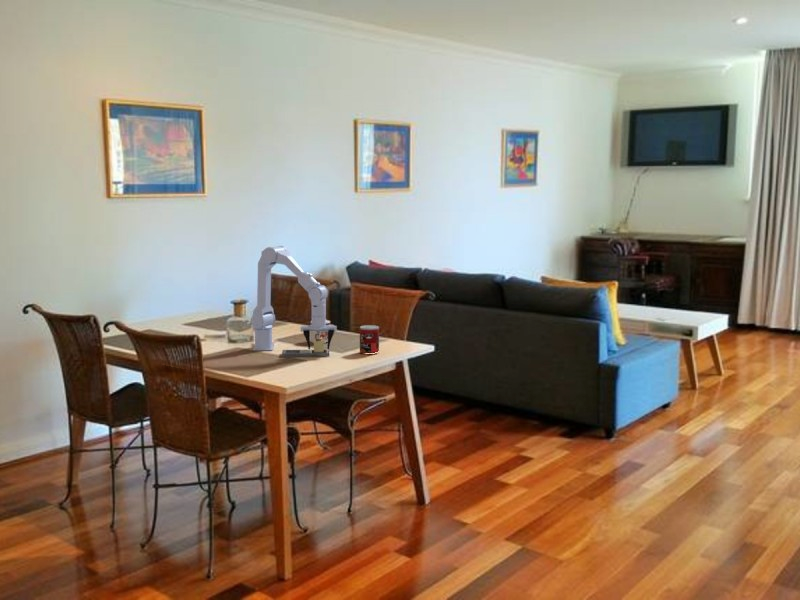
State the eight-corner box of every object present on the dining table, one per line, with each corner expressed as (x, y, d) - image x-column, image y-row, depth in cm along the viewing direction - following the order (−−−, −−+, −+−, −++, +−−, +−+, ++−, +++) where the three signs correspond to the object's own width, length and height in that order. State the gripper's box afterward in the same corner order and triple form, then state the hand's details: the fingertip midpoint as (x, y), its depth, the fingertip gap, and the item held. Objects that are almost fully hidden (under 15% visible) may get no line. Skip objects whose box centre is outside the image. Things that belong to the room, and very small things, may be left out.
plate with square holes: (282, 353, 322) (282, 349, 322) (329, 353, 324) (329, 349, 324) (281, 357, 315) (281, 353, 315) (329, 356, 317) (329, 352, 317)
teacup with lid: (314, 344, 341) (314, 318, 339) (307, 340, 349) (306, 314, 347) (339, 342, 346) (339, 316, 345) (332, 338, 354) (332, 313, 353)
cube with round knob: (314, 353, 322) (313, 337, 321) (323, 353, 322) (323, 337, 321) (313, 355, 318) (313, 339, 317) (323, 355, 318) (323, 339, 317)
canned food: (356, 352, 325) (356, 326, 324) (371, 350, 330) (371, 324, 329) (367, 355, 319) (367, 329, 318) (382, 353, 324) (382, 327, 323)
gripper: (300, 317, 313) (300, 350, 315) (336, 317, 314) (336, 350, 316) (300, 314, 320) (301, 347, 322) (336, 314, 321) (336, 346, 323)
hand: (318, 348), depth 320 cm, fingers open, 7 cm apart
